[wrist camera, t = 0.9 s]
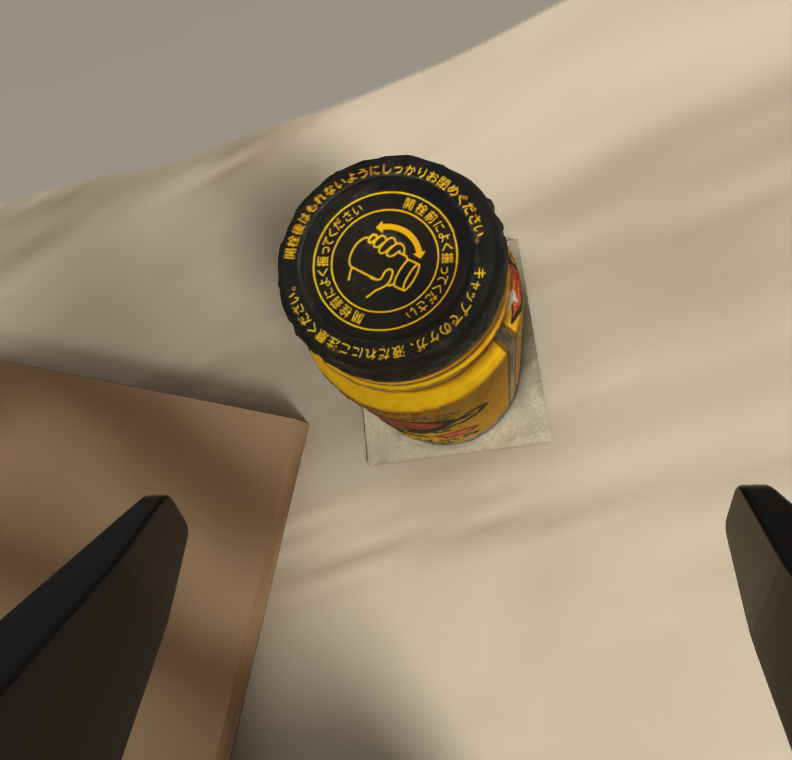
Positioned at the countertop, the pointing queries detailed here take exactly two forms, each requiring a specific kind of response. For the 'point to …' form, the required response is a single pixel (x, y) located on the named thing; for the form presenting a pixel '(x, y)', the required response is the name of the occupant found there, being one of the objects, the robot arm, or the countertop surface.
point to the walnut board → (118, 491)
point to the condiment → (415, 309)
